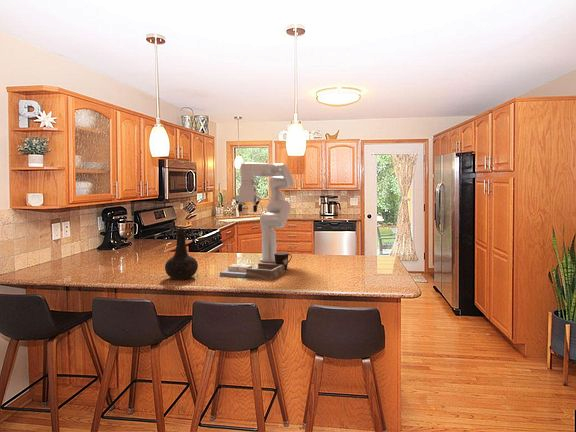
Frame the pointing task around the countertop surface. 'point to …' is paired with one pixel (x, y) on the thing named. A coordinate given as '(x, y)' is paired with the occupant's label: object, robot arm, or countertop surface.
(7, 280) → the countertop surface
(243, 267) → the cream tile
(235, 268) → the cream tile
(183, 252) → the dark bulbous vase
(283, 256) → the coffee mug
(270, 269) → the box
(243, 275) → the slate plate
